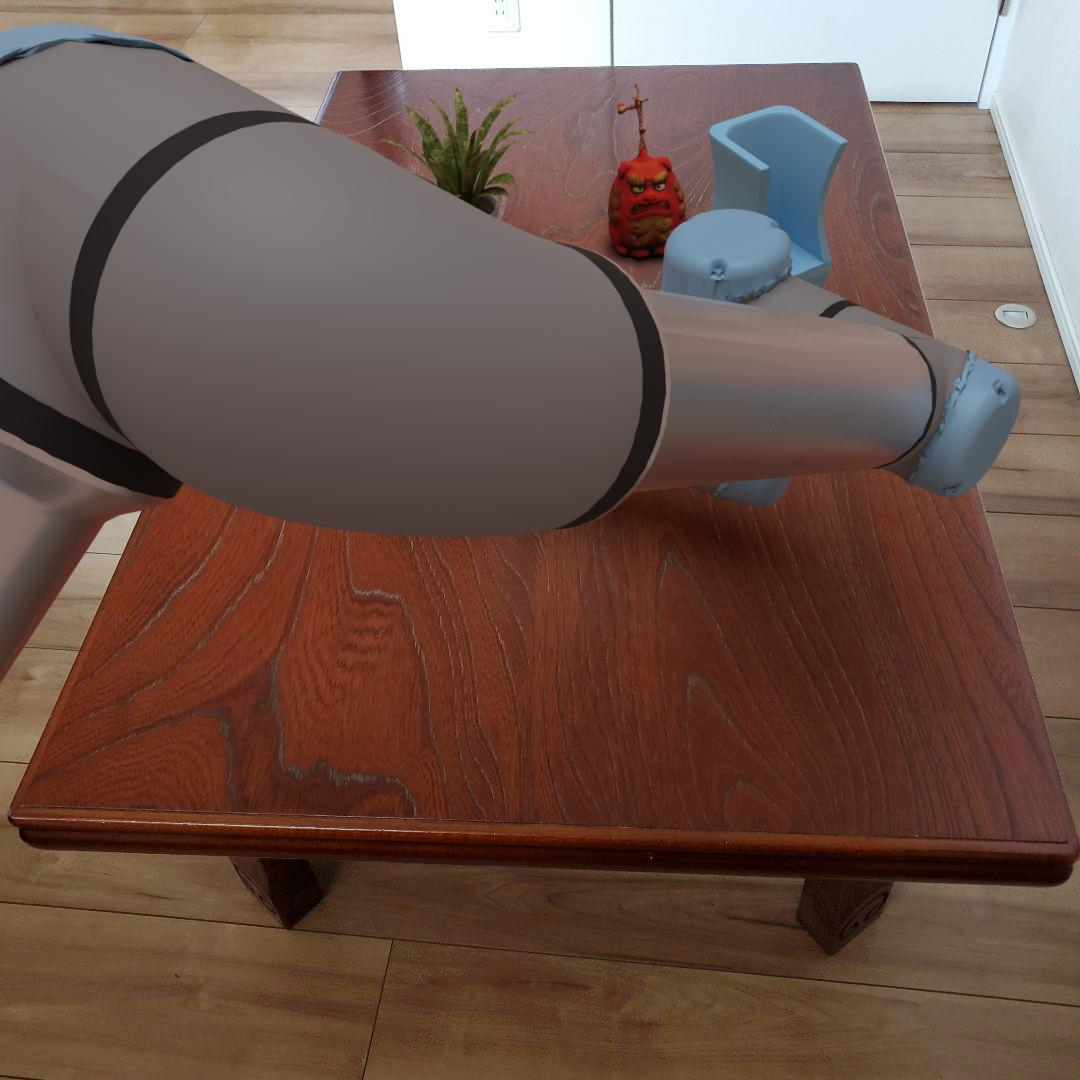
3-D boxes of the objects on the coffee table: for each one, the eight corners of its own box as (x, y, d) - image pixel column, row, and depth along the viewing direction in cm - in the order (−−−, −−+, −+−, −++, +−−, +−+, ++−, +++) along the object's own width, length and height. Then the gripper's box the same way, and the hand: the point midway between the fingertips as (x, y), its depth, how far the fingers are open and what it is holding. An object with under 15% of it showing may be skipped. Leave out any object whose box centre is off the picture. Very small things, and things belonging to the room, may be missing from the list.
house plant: (570, 233, 113) (564, 73, 102) (528, 310, 104) (516, 144, 93) (440, 217, 117) (419, 61, 105) (388, 290, 108) (359, 128, 96)
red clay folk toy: (617, 267, 108) (615, 119, 98) (600, 231, 113) (597, 85, 103) (693, 255, 109) (699, 106, 98) (673, 219, 114) (677, 73, 103)
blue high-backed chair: (740, 390, 94) (760, 170, 80) (690, 343, 99) (700, 127, 85) (817, 360, 97) (849, 141, 82) (763, 315, 102) (785, 101, 87)
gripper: (516, 530, 76) (257, 436, 85) (648, 359, 89) (410, 292, 97) (507, 447, 71) (231, 356, 79) (649, 277, 83) (397, 214, 92)
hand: (330, 321), depth 88 cm, fingers closed on plant pot, 8 cm apart
